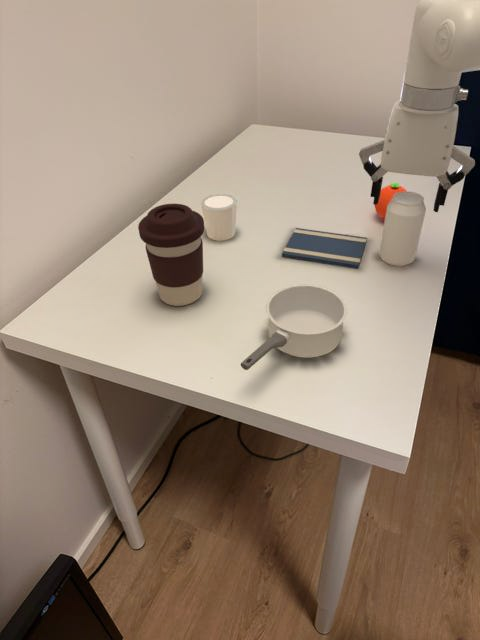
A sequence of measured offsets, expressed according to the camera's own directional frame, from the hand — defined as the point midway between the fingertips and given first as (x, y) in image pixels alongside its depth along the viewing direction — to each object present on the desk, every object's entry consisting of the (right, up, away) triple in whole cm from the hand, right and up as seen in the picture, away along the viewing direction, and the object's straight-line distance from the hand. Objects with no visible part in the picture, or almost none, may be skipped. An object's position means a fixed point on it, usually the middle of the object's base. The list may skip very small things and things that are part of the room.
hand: (405, 204), depth 81 cm
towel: (-12, -6, +10) cm, 17 cm away
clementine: (+3, +2, +19) cm, 19 cm away
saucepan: (-21, -24, -11) cm, 34 cm away
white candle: (-31, -2, +16) cm, 35 cm away
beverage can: (+1, -9, +7) cm, 11 cm away
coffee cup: (-38, -15, +1) cm, 41 cm away
